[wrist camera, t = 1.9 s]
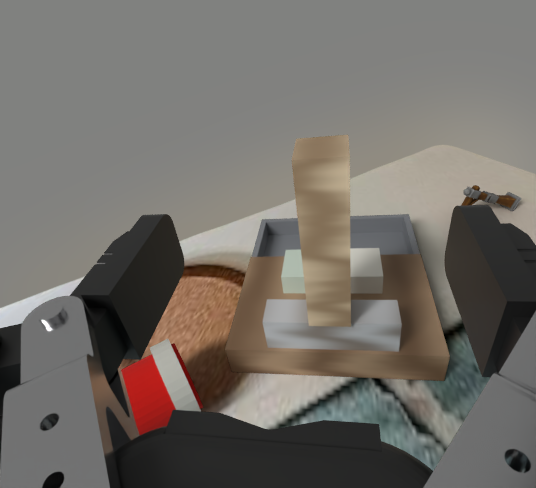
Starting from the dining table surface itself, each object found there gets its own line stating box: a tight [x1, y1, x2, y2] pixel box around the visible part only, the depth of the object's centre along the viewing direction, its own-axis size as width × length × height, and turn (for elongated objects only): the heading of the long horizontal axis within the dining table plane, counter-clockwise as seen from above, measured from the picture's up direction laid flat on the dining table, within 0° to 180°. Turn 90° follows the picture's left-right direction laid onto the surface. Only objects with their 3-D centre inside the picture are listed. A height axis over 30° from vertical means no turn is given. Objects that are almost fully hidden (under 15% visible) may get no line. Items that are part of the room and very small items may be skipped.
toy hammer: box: [121, 339, 203, 435], centre depth 34 cm, size 23×12×6 cm, turn 30°
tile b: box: [281, 250, 305, 293], centre depth 36 cm, size 4×4×2 cm
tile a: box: [350, 248, 383, 294], centre depth 35 cm, size 4×4×2 cm
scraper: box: [263, 135, 402, 352], centre depth 26 cm, size 10×3×16 cm, turn 82°
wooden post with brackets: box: [461, 185, 521, 211], centre depth 45 cm, size 2×8×4 cm, turn 107°
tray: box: [252, 214, 420, 257], centre depth 43 cm, size 17×8×2 cm, turn 82°
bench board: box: [225, 254, 450, 381], centre depth 35 cm, size 17×12×3 cm
